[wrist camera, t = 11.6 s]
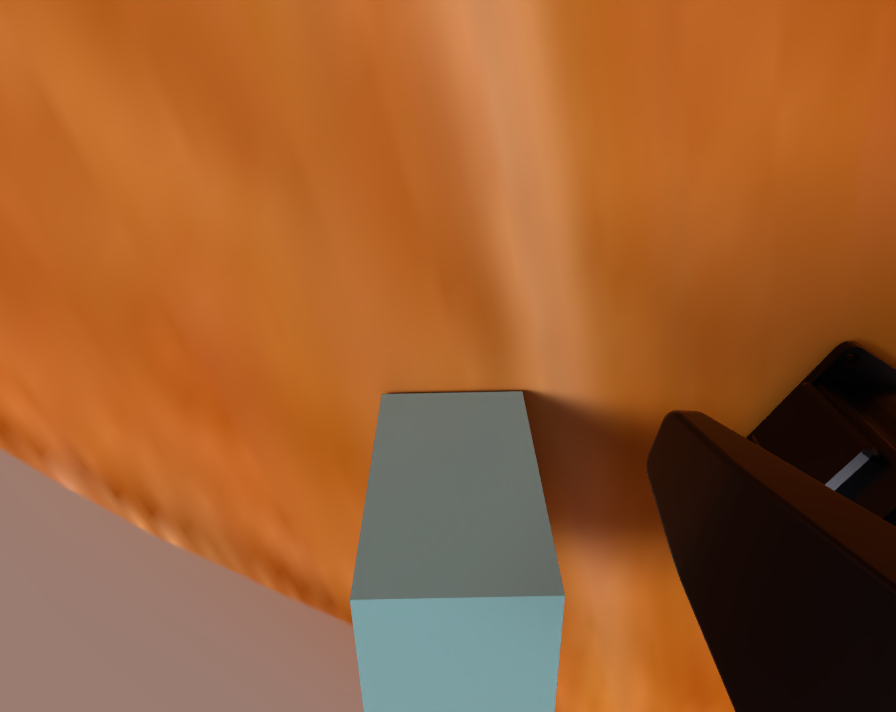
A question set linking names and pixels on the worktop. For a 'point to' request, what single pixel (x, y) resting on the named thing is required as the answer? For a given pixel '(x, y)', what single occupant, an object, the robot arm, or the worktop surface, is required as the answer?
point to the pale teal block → (456, 561)
